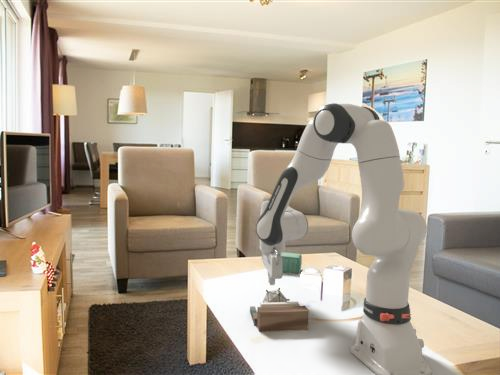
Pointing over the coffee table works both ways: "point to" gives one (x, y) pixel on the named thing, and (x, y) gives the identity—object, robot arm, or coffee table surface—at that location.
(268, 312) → the brown piece
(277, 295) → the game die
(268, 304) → the pad
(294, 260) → the box
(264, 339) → the coffee table surface
